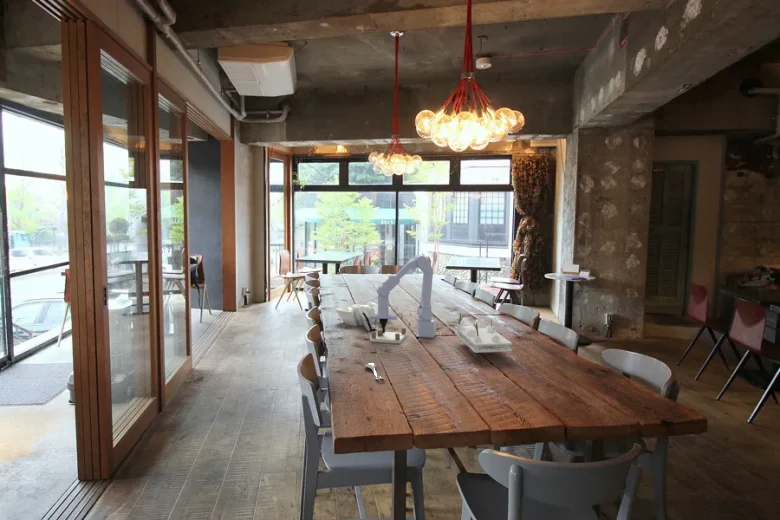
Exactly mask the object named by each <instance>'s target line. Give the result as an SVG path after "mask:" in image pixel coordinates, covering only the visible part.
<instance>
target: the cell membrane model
mask: <svg viewBox="0 0 780 520" xmlns="http://www.w3.org/2000/svg"><path fill="white" fill-rule="evenodd" d="M481 317H482V318H481V319H476V320H474V323H473V325H465V324H464V322H463V318H464V315H462V313H459V318H458V319H456V318H455V317H453V319H454V320H455V322H456V323H457V326H456V325H455V326H454V328H455V332H454V335H456V336H457V337H458V338H459V339H460V341H461V342H462V343H463V344H464V345H466V346H467V347H469V352H470V353H472V352H473V353H474V356H475V357H477V355H475V354H476V353H477V354H478V353H481V354H482V353H483V354H484V353H499V352H500V353H504V352H505V353H506V352H509V353H510V352H513V349H512V345H513V343H512V341H510V340H509V339H508V338H505V337H504V336H503V335H502V334H501V333H499V332H497V330H498V329H499V327H497V328H496V329H495V328H494V327H493V326H492V325H493V323H492V321H493V320H492V318H490V323H491V324H490V325H487V322H486V321H485V319H483V318H484V316H481Z"/></svg>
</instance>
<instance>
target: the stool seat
mask: <svg viewBox="0 0 780 520" xmlns="http://www.w3.org/2000/svg"><path fill="white" fill-rule="evenodd" d="M407 337H408V333H407V328H406V327H401V332H396V331H395V332H393V331H385V333H383V335H378V331H371V337H370V338H369V342H374V343H375V342H376V343H377V342H378V343H387V344H401V343H402V342H403V341H404V340H405V339H406V338H407Z"/></svg>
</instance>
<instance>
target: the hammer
mask: <svg viewBox="0 0 780 520" xmlns="http://www.w3.org/2000/svg"><path fill="white" fill-rule="evenodd" d="M377 332H378V335H383V330H382V326H381V325H378V329H377Z"/></svg>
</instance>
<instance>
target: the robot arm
mask: <svg viewBox="0 0 780 520" xmlns="http://www.w3.org/2000/svg"><path fill="white" fill-rule="evenodd" d="M414 269H415V270H416V269H419V270H420V271H421V272H422V273H423V274H422V285H421V295H420V302H419V305H418V308H417V310H416V313H417V315H418V318H417V334H416V335H415V337H416V338H417V337H418V338H429V339H431V338H432V339H434V338H435V337H436V333H437V332H436V329H437V328H436V327H437V326H436V320H435V319H434V320H433V319H432V317H433V311H432V304H431V299H432V290H433V289H432V288H433V287H432V286H433V278H434V276H433V275H434V269H433V267H432V264H431V263H430V260H429V259H428V257H426V256H424V255H421V254H416V255H414V256H413V257H411V258H410V259H409V260H408V261H407V262H406V263H405V264H404V265H403V266H402V267H401V269H399V270H398V272H397V273H396V274H391V275H389V276H388V278H387V279H386V280H385V281H383V282H382V283H381V284H380V285H379V286H378V287H377V289H376V293H377V294H378V296H377V304H378V315H370V319H379V322H380V323H379V324H380V326H382V330H383V333H385V332H386V326H387V324H388V321H389V320H391V321H393V320H395V321H397V320H398V315H392V314H390V313H389V307H390V305H389V303H390V299H389V295H390V293H391V291H392V290H393V289H395V288H396V287H397V285H399V284H400V282H401V279H402V278H403V277H404V276H405V275H406V274H407V273H408V272H409V271H411V270H414Z"/></svg>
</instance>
